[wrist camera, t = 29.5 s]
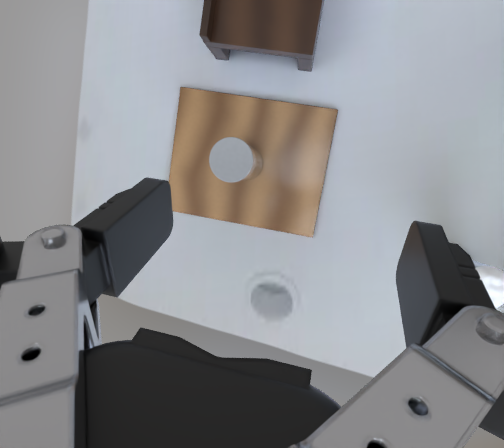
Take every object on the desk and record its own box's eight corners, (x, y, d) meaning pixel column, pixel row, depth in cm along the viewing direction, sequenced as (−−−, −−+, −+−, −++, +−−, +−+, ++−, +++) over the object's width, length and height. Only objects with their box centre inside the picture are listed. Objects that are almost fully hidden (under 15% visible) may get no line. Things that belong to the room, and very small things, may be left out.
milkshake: (425, 251, 43) (461, 273, 34) (471, 247, 43) (522, 269, 33) (426, 286, 44) (462, 318, 34) (472, 283, 43) (523, 315, 33)
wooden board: (337, 110, 43) (338, 109, 42) (312, 236, 45) (312, 237, 45) (181, 87, 45) (180, 86, 45) (166, 209, 48) (165, 209, 47)
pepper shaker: (266, 148, 44) (256, 140, 34) (260, 183, 45) (249, 186, 35) (232, 142, 45) (212, 133, 35) (226, 177, 45) (205, 178, 36)
